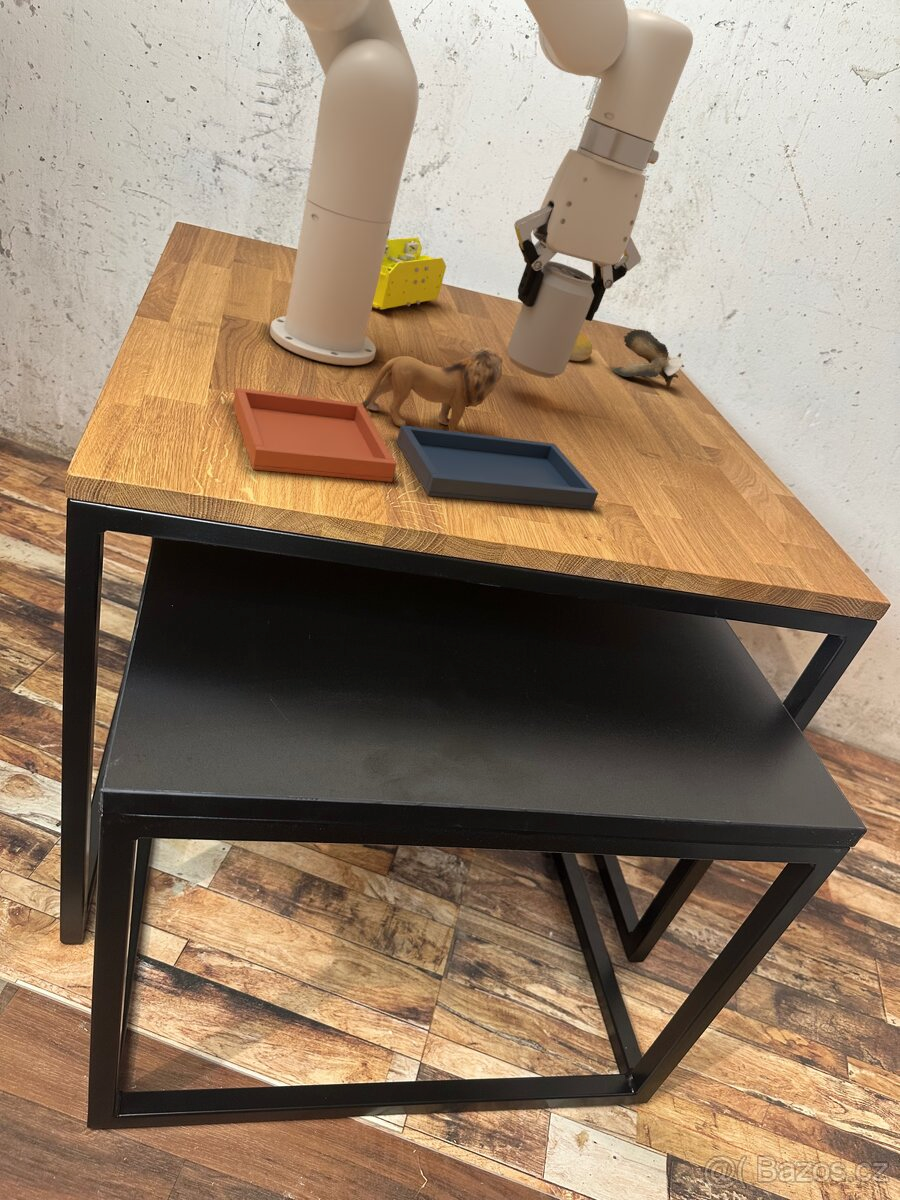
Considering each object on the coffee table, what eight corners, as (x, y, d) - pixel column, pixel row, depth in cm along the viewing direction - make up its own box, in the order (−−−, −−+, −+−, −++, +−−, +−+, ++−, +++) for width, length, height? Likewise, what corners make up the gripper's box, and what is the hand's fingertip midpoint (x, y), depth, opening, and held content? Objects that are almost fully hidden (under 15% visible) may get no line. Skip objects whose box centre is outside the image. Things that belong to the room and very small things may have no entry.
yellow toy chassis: (407, 291, 134) (420, 235, 130) (437, 304, 133) (452, 249, 128) (348, 300, 122) (361, 239, 117) (381, 315, 120) (396, 254, 116)
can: (559, 386, 103) (598, 286, 96) (499, 364, 103) (535, 262, 96) (563, 370, 109) (601, 275, 103) (508, 349, 109) (542, 253, 103)
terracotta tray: (232, 405, 83) (235, 387, 82) (358, 421, 88) (362, 403, 87) (252, 469, 73) (256, 449, 72) (392, 482, 79) (397, 463, 78)
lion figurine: (473, 419, 97) (497, 342, 92) (490, 441, 93) (516, 361, 88) (347, 404, 91) (366, 320, 86) (361, 427, 87) (381, 340, 82)
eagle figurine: (666, 368, 134) (616, 342, 132) (694, 341, 128) (642, 313, 126) (658, 406, 131) (607, 380, 129) (686, 380, 124) (633, 352, 122)
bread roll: (551, 359, 125) (561, 332, 123) (526, 336, 132) (535, 310, 130) (599, 366, 129) (608, 340, 127) (572, 344, 135) (581, 319, 133)
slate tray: (396, 442, 86) (400, 424, 85) (548, 459, 94) (554, 443, 93) (428, 495, 78) (433, 477, 77) (591, 509, 86) (598, 493, 85)
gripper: (661, 163, 99) (601, 313, 108) (530, 118, 92) (478, 283, 101) (696, 179, 94) (629, 335, 103) (559, 133, 86) (501, 306, 95)
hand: (554, 308), depth 102 cm, fingers closed on can, 7 cm apart
